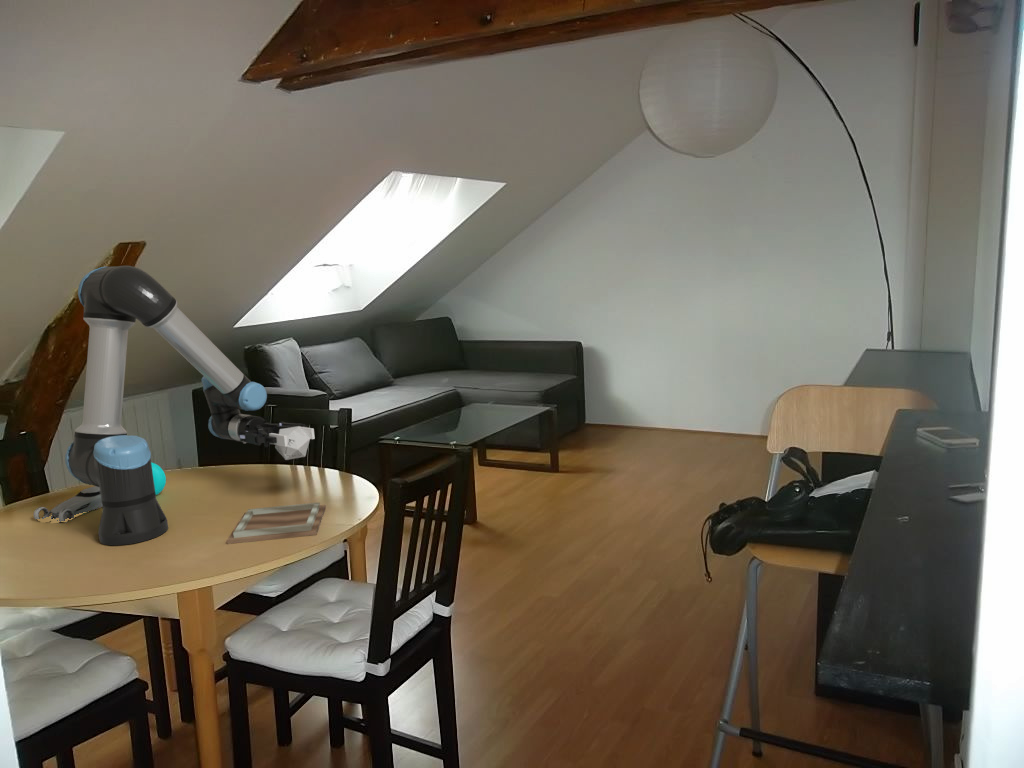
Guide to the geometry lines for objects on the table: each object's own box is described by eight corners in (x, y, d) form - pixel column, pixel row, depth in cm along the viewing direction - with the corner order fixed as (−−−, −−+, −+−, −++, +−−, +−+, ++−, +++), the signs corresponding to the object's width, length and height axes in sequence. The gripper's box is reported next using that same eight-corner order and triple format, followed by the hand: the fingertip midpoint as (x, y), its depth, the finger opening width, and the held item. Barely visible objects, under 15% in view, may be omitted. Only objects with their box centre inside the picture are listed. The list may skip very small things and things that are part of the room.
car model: (30, 523, 208) (27, 504, 207) (106, 494, 230) (103, 477, 230) (62, 526, 204) (59, 507, 203) (136, 496, 227) (133, 479, 226)
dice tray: (245, 515, 202) (244, 508, 201) (325, 507, 204) (325, 500, 204) (227, 543, 182) (226, 535, 182) (316, 534, 184) (315, 526, 184)
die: (269, 462, 208) (271, 437, 202) (282, 439, 215) (284, 414, 209) (300, 471, 209) (303, 446, 202) (311, 448, 215) (315, 423, 209)
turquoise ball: (117, 507, 216) (112, 471, 214) (134, 496, 226) (129, 461, 224) (154, 504, 216) (149, 469, 214) (169, 493, 226) (165, 459, 224)
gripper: (282, 434, 228) (333, 442, 213) (216, 451, 212) (266, 461, 198) (279, 408, 226) (330, 415, 212) (213, 423, 211) (263, 431, 196)
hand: (299, 437), depth 205 cm, fingers closed on die, 8 cm apart
